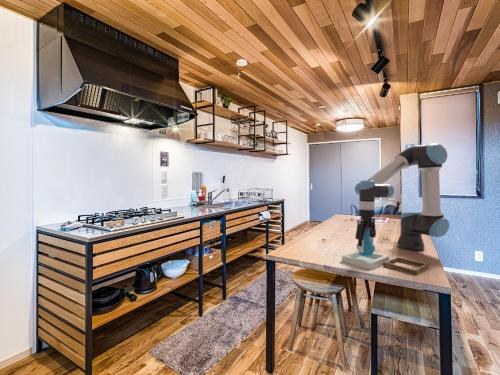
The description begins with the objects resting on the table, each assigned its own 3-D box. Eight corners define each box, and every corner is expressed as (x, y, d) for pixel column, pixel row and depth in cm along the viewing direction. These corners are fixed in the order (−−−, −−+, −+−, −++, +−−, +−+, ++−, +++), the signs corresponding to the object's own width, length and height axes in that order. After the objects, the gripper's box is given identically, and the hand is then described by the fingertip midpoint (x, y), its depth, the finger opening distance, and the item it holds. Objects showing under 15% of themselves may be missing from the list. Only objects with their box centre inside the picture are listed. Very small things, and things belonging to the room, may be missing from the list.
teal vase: (369, 252, 147) (370, 225, 146) (378, 257, 137) (379, 229, 137) (353, 252, 146) (354, 225, 146) (361, 257, 137) (361, 229, 136)
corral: (397, 260, 144) (397, 256, 144) (428, 268, 132) (428, 264, 132) (383, 266, 135) (383, 262, 135) (415, 275, 123) (415, 270, 123)
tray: (361, 254, 155) (361, 249, 154) (389, 261, 142) (389, 255, 142) (341, 261, 143) (341, 255, 142) (370, 269, 130) (370, 263, 130)
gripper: (370, 206, 150) (369, 245, 151) (348, 209, 137) (347, 252, 138) (383, 208, 144) (382, 248, 145) (362, 211, 131) (361, 255, 132)
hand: (365, 250), depth 142 cm, fingers closed on teal vase, 9 cm apart
